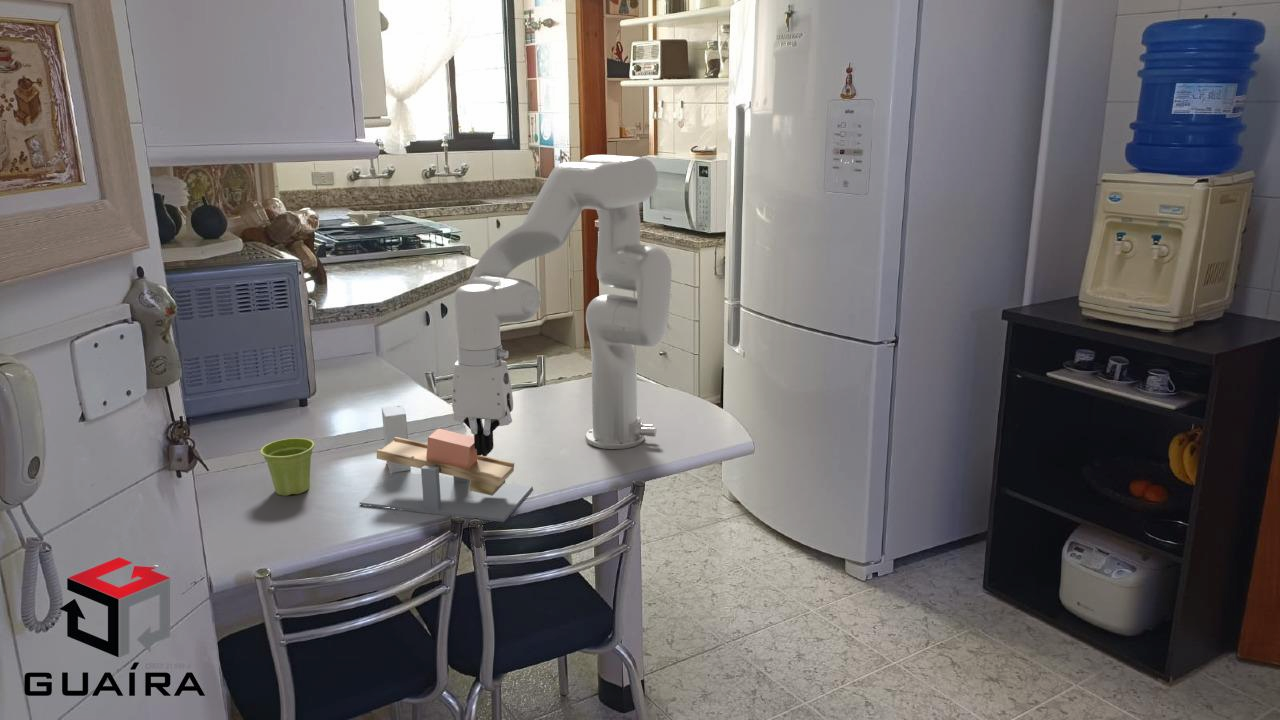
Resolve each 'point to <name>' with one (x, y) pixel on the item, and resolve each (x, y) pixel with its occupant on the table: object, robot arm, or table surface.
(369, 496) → the stand
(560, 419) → the table surface
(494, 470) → the beam
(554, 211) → the robot arm
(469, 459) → the block
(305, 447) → the plant pot
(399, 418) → the skincare box
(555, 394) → the table surface
